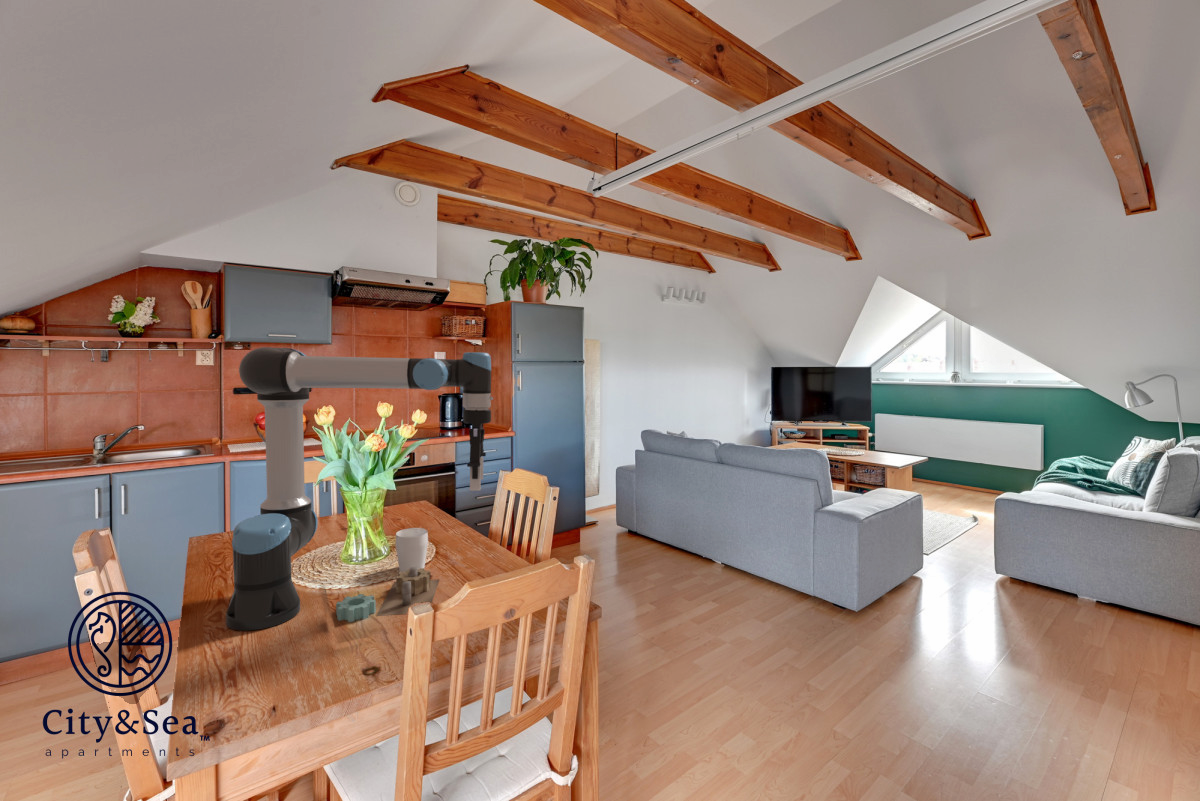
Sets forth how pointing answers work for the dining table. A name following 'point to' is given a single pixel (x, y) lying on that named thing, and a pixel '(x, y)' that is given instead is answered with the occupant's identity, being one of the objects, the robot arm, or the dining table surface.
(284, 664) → the dining table surface
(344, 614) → the gear
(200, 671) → the dining table surface
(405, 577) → the gear
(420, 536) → the cup
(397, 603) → the gear board
